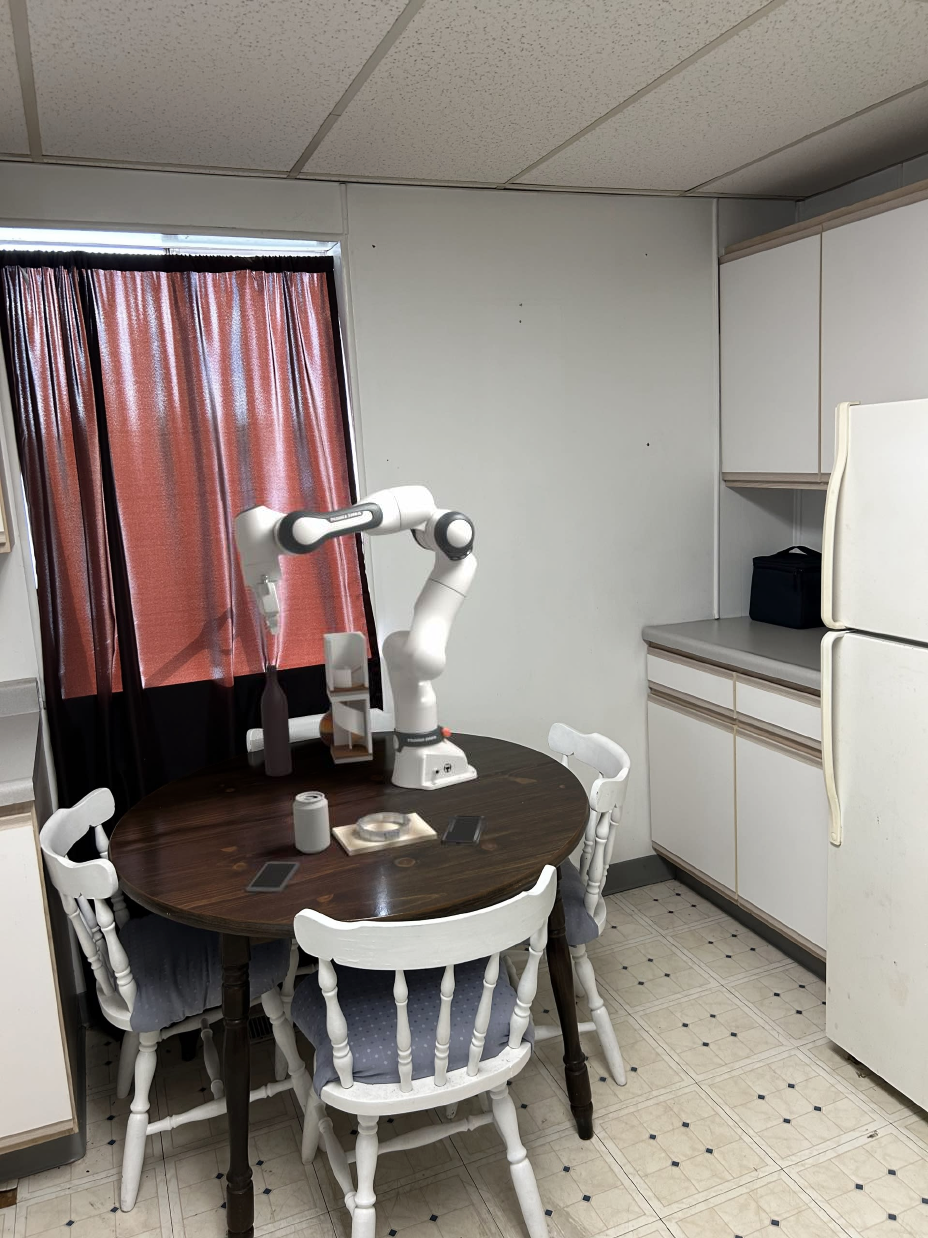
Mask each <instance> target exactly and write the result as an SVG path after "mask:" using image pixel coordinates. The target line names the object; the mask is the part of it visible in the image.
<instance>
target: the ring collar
mask: <svg viewBox="0 0 928 1238" xmlns="http://www.w3.org/2000/svg"><path fill="white" fill-rule="evenodd" d="M382 822H395V823H398V824H402V825H403V826H401V827H399V828H397V829H393V830H388V831H371V830H368V829H364V828H365V827H367V826H369V825H371V824H376V823H382ZM355 824H356V834H357V835H358V836H359V837H360V838H361V839H365V840H368V841H383V842H385V841H391V840H396V839H400V838H402V837H404V836H406V835H408V834H409V833H410V831H411V819H410V818H409V817H408V816H407V815H406V814H403V813H400V812H399V813H398V812H392V811H391V812H390V811H389V812H383V811H382V812H378V813H377V812H376V813H371V814H367V815H365V816H363V817H361V818H358V820H357V822H356V823H355Z"/></svg>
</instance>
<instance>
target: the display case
mask: <svg viewBox="0 0 928 1238" xmlns="http://www.w3.org/2000/svg"><path fill="white" fill-rule="evenodd" d="M323 647H324V662H325V663H324V664H325V678H326V679H325V681H326V694H327V696H328V699H329V698H330V700H331V702H332V714H333V730H334V745H330V746H331V747H330V746H329V747H330V754H331V756H332V759H333V762H334V764H335V765H336V764H344V763H355V762H364V761H372V760H373V741H372V740H373V739H372V721H371V703H370V686H369V684H370V683H369V669H368V668H369V667H368V651H367V650H368V649H367V638H366V636H365V635H364V634H363V633H362V631H350V632H349V631H348V632H335V633H334V632H333V633H324V634H323Z"/></svg>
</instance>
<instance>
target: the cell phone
mask: <svg viewBox="0 0 928 1238" xmlns="http://www.w3.org/2000/svg"><path fill="white" fill-rule="evenodd" d="M299 867H300V862H299V861H267V862H266V863H265V864H264V865H263V867H262V868H261V869H260V870H259V872H257V874H256V876H254V878H253V880H252V881H251V882H250V883H249V885H248V886H247V887H246V888H245V892H246V893H250V894H251V893H252V894H253V893H256V894H259V893H260V894H280V893H282V891H283V890H284V889H285V887H286V886H287V885H288V883H289V881H290V880H291V879H292V877H293V876H294V874H295V873H296V871H297V869H298V868H299Z"/></svg>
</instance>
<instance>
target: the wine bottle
mask: <svg viewBox="0 0 928 1238" xmlns="http://www.w3.org/2000/svg"><path fill="white" fill-rule="evenodd" d="M277 672H278V667H277V665H276V664H269V665H266V668H265V673H266V676H267V678H266V679H267V680H266V685H265V688H264V691H263V692H262V696H261V699H260V700H261V701H260V712H261V713H260V714H261V726H262V727H261V728H262V739H263V740H262V741H263V754H264V766H265V767H264V768H265V774H266V775H267V776H270V777H285V776H287V775H289V774H291V773H292V770H293V765H292V750H291V739H290V724H289V723H290V721H289V710H288V709H289V708H288V700H287V697H286V694H285V693H284V691H283V689H282V688H281V686H280V684H279V682H278V675H277Z"/></svg>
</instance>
